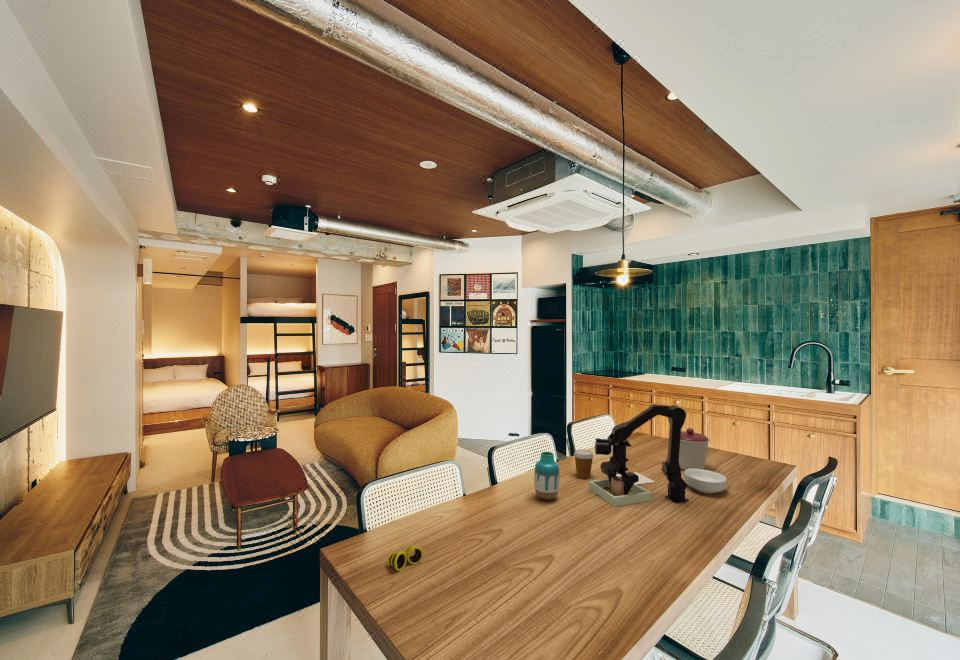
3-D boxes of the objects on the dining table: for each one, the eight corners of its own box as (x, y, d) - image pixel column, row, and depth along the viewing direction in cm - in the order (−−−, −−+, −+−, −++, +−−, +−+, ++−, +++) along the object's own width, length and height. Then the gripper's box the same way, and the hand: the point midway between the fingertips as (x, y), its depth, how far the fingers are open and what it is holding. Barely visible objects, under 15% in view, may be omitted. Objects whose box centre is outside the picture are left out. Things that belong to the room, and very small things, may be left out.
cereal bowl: (723, 501, 169) (724, 485, 169) (680, 491, 179) (681, 475, 179) (728, 489, 182) (728, 473, 182) (687, 480, 192) (688, 465, 192)
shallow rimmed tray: (650, 500, 168) (651, 492, 168) (614, 506, 163) (614, 497, 163) (622, 484, 186) (622, 476, 186) (588, 488, 180) (588, 481, 180)
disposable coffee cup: (589, 481, 189) (589, 456, 188) (570, 477, 194) (570, 452, 194) (596, 476, 196) (596, 451, 196) (578, 471, 202) (578, 447, 202)
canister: (673, 472, 202) (674, 431, 202) (667, 461, 219) (668, 422, 219) (713, 476, 197) (714, 434, 197) (704, 464, 214) (705, 425, 214)
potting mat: (655, 482, 188) (655, 481, 188) (632, 485, 184) (632, 484, 184) (636, 473, 201) (636, 472, 201) (614, 475, 197) (614, 474, 197)
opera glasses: (415, 557, 127) (414, 541, 127) (424, 562, 123) (422, 545, 123) (387, 569, 120) (386, 551, 121) (395, 574, 116) (394, 556, 117)
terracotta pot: (629, 496, 172) (629, 480, 172) (617, 498, 170) (617, 481, 170) (620, 491, 178) (620, 475, 178) (607, 492, 176) (608, 476, 176)
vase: (530, 500, 168) (531, 454, 168) (538, 491, 177) (539, 448, 177) (554, 505, 163) (555, 458, 163) (562, 496, 172) (562, 451, 172)
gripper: (591, 450, 181) (590, 485, 181) (617, 464, 163) (616, 502, 163) (611, 448, 184) (611, 482, 184) (639, 461, 166) (639, 499, 166)
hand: (618, 491), depth 174 cm, fingers open, 9 cm apart
